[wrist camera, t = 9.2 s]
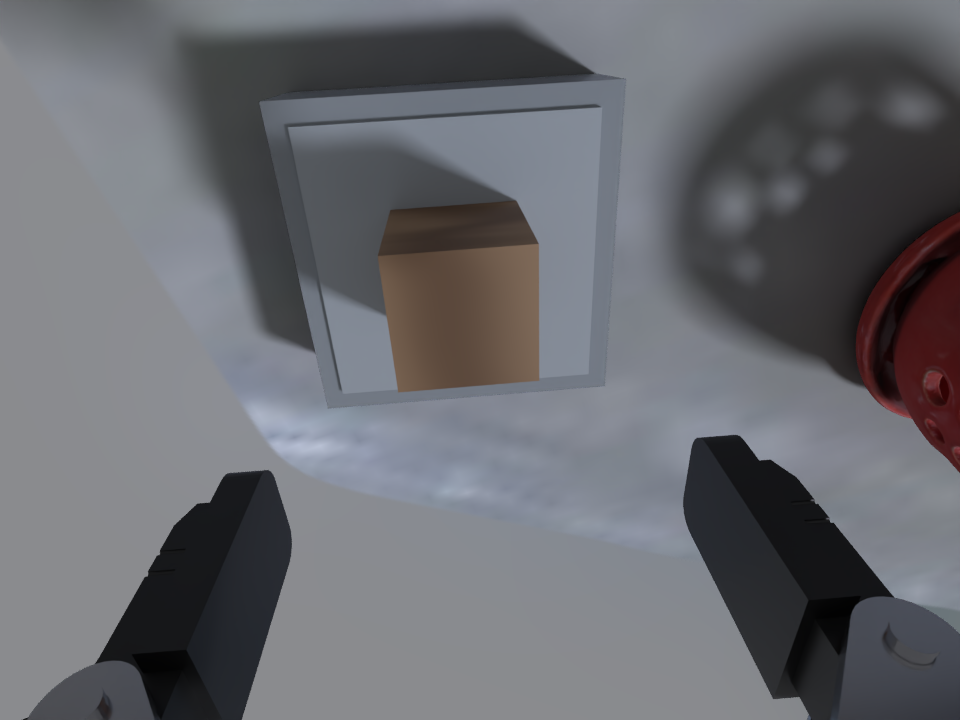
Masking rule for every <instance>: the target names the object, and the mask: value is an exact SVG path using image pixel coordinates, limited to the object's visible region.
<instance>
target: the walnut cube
mask: <svg viewBox="0 0 960 720" xmlns="http://www.w3.org/2000/svg"><path fill="white" fill-rule="evenodd" d="M378 262H379V269H380V276H381V282H382V289H383V295H384V302H385V309H386V315H387V322H388V328H389V335H390V341H391V348H392V355H393V361H394V368H395V374H396V381H397V388H398V393H399V392H411V391H423V390H435V389H447V388H459V387H471V386H483V385H495V384H507V383H519V382H531V381H539V243H538V241H537V239H536V237H535V235H534V233H533V231H532V230H531V228H530V226H529V224H528V222H527V220H526V218H525V216H524V214H523V212H522V210H521V208H520V206H519V204H518V203H517V201H505V202H492V203H478V204H464V205H450V206H437V207H423V208H409V209H395V210H390V213H389V217H388V220H387V224H386V227H385V231H384V235H383V238H382V242H381V245H380V249H379V253H378Z"/></svg>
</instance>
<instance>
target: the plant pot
mask: <svg viewBox="0 0 960 720" xmlns="http://www.w3.org/2000/svg"><path fill="white" fill-rule="evenodd" d="M856 359H857V364H858V368H859V372H860V375H861V378H862V380H863V382H864V384H865V386H866V388H867V389H868V391H869V392H870V394H871V395H872V396H873V397H874V398H875V399H876V401H877V402H878V403H880V404H881V405H882V406H883V407H885V408H886V409H888V410H890V411H892V412H894V413H896V414H899V415H901V416H903V417H907V418H911V419H913V421H914V422H915V424H916V425H917V427H918V428H919V430H920V431H921V432H922V434H923V435H924V436H925V438H926V439H927V440H928V441H929V443H930V444H931V445H932V446H933V447H935V448H936V449H937V450H938V451H939V452H940V453H942V454H943V455H944V456H945V457H946V458H947V459H948V460H949V461H950V462H951V463H952V465H953V466H954V467H955V468H956V469H957V470H958V471H959V472H960V212H958V213H956V214H954V215H952V216H950V217H949V218H947V219H945V220H944V221H942V222H940V223H939V224H937V225H935V226H934V227H933V228H931V229H930V230H928V231H927V232H926V233H924V234H923V235H922V236H920V237H919V238H918V239H917V240H915V241H914V242H913V243H912V244H911V245H910V246H909V247H907V248H906V249H905V250H904V251H903V252H902V253H901V254H900V255H899V256H898V257H897V259H896V260H895V261H894V262H893V263H892V264H891V265H890V266H889V268H888V269H887V270H886V271H885V273H884V274H883V275H882V277H881V278H880V280H879V281H878V282H877V284H876V286H875V287H874V289H873V290H872V292H871V294H870V296H869V298H868V300H867V302H866V305H865V307H864V309H863V312H862V315H861V318H860V321H859V325H858V328H857V335H856Z"/></svg>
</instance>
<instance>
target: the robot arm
mask: <svg viewBox="0 0 960 720" xmlns="http://www.w3.org/2000/svg"><path fill="white" fill-rule="evenodd" d="M683 507H684V515H685V520H686V523H687V526H688V529H689V531H690V534H691V536H692V538H693V540H694V542H695V544H696V546H697V548H698V550H699V552H700V554H701V556H702V558H703V560H704V562H705V564H706V566H707V568H708V570H709V572H710V573H711V575H712V578H713V580H714V581H715V583H716V585H717V587H718V589H719V591H720V594H721V596H722V598H723V600H724V602H725V603H726V605H727V607H728V609H729V611H730V613H731V615H732V617H733V619H734V621H735V623H736V625H737V627H738V629H739V631H740V633H741V635H742V637H743V639H744V641H745V643H746V645H747V647H748V649H749V651H750V653H751V655H752V657H753V659H754V661H755V663H756V665H757V667H758V669H759V671H760V673H761V675H762V677H763V679H764V681H765V683H766V685H767V687H768V689H769V691H770V693H771V695H772V697H773V699H780V698H791V697H800V699H801V700H802V702H803V704H804V706H805V708H806V710H807V712H808V713H809V716H808V718H807V720H960V634H959V633H958V632H957V631H956V630H955V629H954V628H953V627H952V626H951V625H949V624H948V623H947V622H946V621H944V620H943V619H942V618H940V617H939V616H937V615H936V614H934V613H932V612H931V611H929V610H927V609H925V608H923V607H921V606H919V605H916V604H914V603H912V602H909V601H905V600H902V599H898V598H894V596H893V595H892V594H891V593H890V592H889V591H888V589H887V588H886V587H885V586H884V585H883V583H882V582H881V581H880V580H879V578H878V577H877V576H876V575H875V573H874V572H873V571H872V570H871V568H870V567H869V566H868V565H867V564H866V562H865V561H864V560H863V559H862V557H861V556H860V555H859V554H858V552H857V551H856V550H855V549H854V548H853V546H852V545H851V544H850V543H849V541H848V540H847V539H846V538H845V536H844V535H843V534H842V533H841V532H840V530H839V529H838V528H837V527H836V525H835V524H834V523H830V520H829V517H828V516H827V514H826V513H825V512H824V511H823V509H822V508H821V507H820V506H819V504H815V501H814V498H813V497H812V496H811V495H810V493H809V492H808V491H807V490H806V488H805V487H804V486H803V485H802V484H801V482H800V481H799V480H798V479H797V477H795V476H794V475H792V474H791V473H789V472H788V471H786V470H785V469H783V468H782V467H780V466H779V465H777V464H776V463H775V462H773V461H772V460H761V461H759V460H758V458H757V457H756V456H755V454H754V453H753V452H752V450H751V449H750V448H749V446H748V445H747V444H746V442H745V441H744V440H743V439H742V438H741V437H740V436H738V435H728V436H715V437H702V438H696V439H695V440H694V442H693V445H692V449H691V455H690V461H689V467H688V474H687V480H686V486H685V492H684V499H683ZM291 548H292V539H291V530H290V526H289V523H288V520H287V516H286V513H285V510H284V507H283V504H282V500H281V497H280V494H279V491H278V487H277V485H276V481H275V478H274V476H273V474H272V473H271V472H270V471H269V470H264V471H251V472H240V473H239V472H238V473H228V474H226V475H225V476H224V477H223V479H222V480H221V482H220V484H219V486H218V488H217V490H216V492H215V494H214V496H213V498H212V500H211V502H210V503H200V504H197V505H196V506H194V508H192V509H191V510H190V511H189V512H188V513H187V514H186V515H185V516H184V517H183V518H182V519H181V520H180V521H179V522H178V523H176V525H174V527H173V529H172V530H171V532H170V534H169V536H168V537H167V539H166V541H165V543H164V544H163V546H162V548H161V550H160V555H158V556H157V557H156V559H155V560H154V562H153V564H152V565H151V567H150V569H149V571H148V577H145V578H144V580H143V581H142V583H141V585H140V587H139V588H138V590H137V592H136V594H135V595H134V597H133V599H132V601H131V602H130V604H129V606H128V608H127V609H126V611H125V613H124V615H123V616H122V618H121V620H120V622H119V624H118V625H117V627H116V629H115V631H114V632H113V634H112V636H111V638H110V639H109V641H108V643H107V645H106V647H105V648H104V650H103V652H102V653H101V655H100V657H99V659H98V660H97V662H96V663H95V664H94V665H91V666H89V667H86V668H84V669H82V670H80V671H78V672H76V673H74V674H73V675H71V676H70V677H68V678H66V679H65V680H63V681H62V682H61V683H59V684H58V685H57V686H56V687H54V688H53V689H52V690H51V691H50V692H49V693H48V694H47V695H46V696H45V697H44V698H43V699H42V700H41V701H40V702H39V703H38V705H37V706H36V707H35V708H34V710H33V711H32V712H31V714H30V715H29V717H28V718H25V719H23V720H242V717H243V713H244V710H245V707H246V704H247V700H248V697H249V693H250V691H251V687H252V684H253V681H254V677H255V674H256V671H257V667H258V664H259V661H260V658H261V654H262V651H263V648H264V644H265V641H266V638H267V635H268V631H269V628H270V625H271V621H272V618H273V615H274V611H275V608H276V605H277V602H278V598H279V595H280V592H281V589H282V585H283V582H284V579H285V575H286V572H287V569H288V565H289V562H290V557H291Z"/></svg>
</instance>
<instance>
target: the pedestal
mask: <svg viewBox="0 0 960 720" xmlns="http://www.w3.org/2000/svg"><path fill="white" fill-rule="evenodd" d="M625 86H626V79H624V78H619V77H613V76H607V75H601V74H580V75H564V76H548V77H531V78H515V79H499V80H483V81H467V82H450V83H434V84H418V85H402V86H385V87H369V88H353V89H337V90H321V91H304V92H288V93H285V94H281V95H278V96H275V97H272V98H269V99H266V100H262V101H259V104H260V109H261V113H262V118H263V122H264V126H265V131H266V135H267V140H268V144H269V149H270V153H271V158H272V162H273V166H274V171H275V175H276V180H277V184H278V189H279V193H280V198H281V202H282V206H283V211H284V215H285V220H286V224H287V229H288V233H289V238H290V242H291V246H292V251H293V255H294V260H295V264H296V269H297V273H298V278H299V282H300V286H301V291H302V295H303V300H304V304H305V309H306V313H307V317H308V322H309V326H310V331H311V335H312V340H313V344H314V349H315V353H316V357H317V362H318V366H319V371H320V375H321V380H322V384H323V389H324V393H325V397H326V402H327V406H328V408H341V407H353V406H365V405H378V404H390V403H402V402H415V401H427V400H439V399H452V398H464V397H476V396H489V395H501V394H513V393H526V392H538V391H551V390H563V389H575V388H588V387H600V386H605V375H606V360H607V346H608V331H609V317H610V302H611V288H612V274H613V259H614V245H615V230H616V216H617V202H618V187H619V173H620V158H621V144H622V130H623V115H624V101H625ZM505 201H517V203H518V204H519V206H520V208H521V210H522V212H523V214H524V216H525V218H526V220H527V222H528V224H529V226H530V228H531V230H532V231H533V233H534V235H535V237H536V239H537V241H538V243H539V381H531V382H519V383H507V384H495V385H483V386H471V387H459V388H447V389H435V390H423V391H411V392H399V393H398V388H397V381H396V374H395V368H394V361H393V355H392V348H391V341H390V335H389V328H388V322H387V315H386V309H385V302H384V295H383V289H382V282H381V276H380V269H379V262H378V253H379V249H380V245H381V242H382V238H383V235H384V231H385V227H386V224H387V220H388V217H389V213H390V210H395V209H409V208H423V207H437V206H450V205H464V204H478V203H492V202H505Z"/></svg>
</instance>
